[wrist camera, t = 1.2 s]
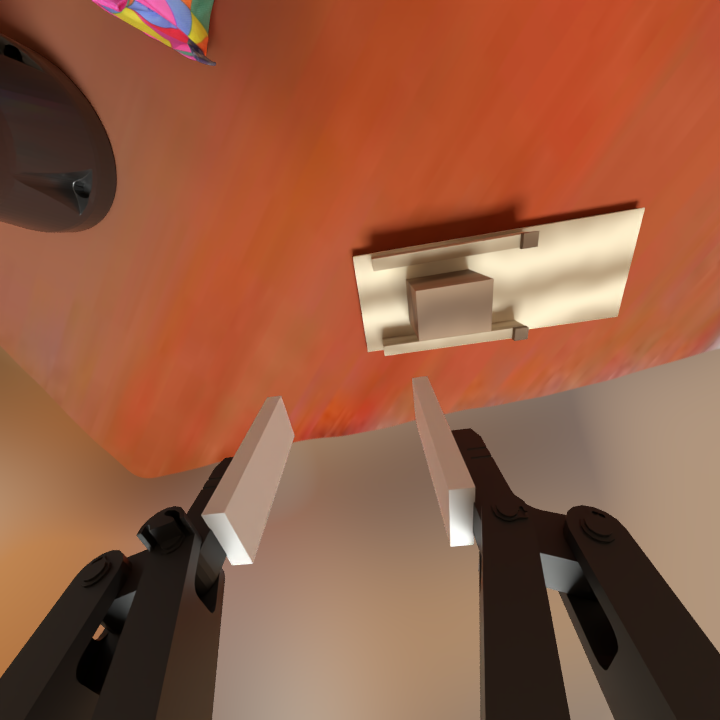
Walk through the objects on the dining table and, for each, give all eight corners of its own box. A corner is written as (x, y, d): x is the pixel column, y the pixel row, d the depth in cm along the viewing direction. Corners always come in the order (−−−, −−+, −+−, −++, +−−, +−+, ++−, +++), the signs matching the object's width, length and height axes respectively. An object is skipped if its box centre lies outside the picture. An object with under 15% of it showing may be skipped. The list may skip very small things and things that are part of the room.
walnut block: (405, 279, 31) (415, 291, 25) (468, 269, 31) (493, 278, 25) (409, 321, 33) (419, 341, 27) (468, 312, 33) (491, 330, 27)
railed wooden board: (353, 256, 31) (351, 260, 27) (636, 208, 29) (676, 205, 25) (367, 348, 36) (368, 362, 32) (610, 314, 34) (641, 324, 30)
